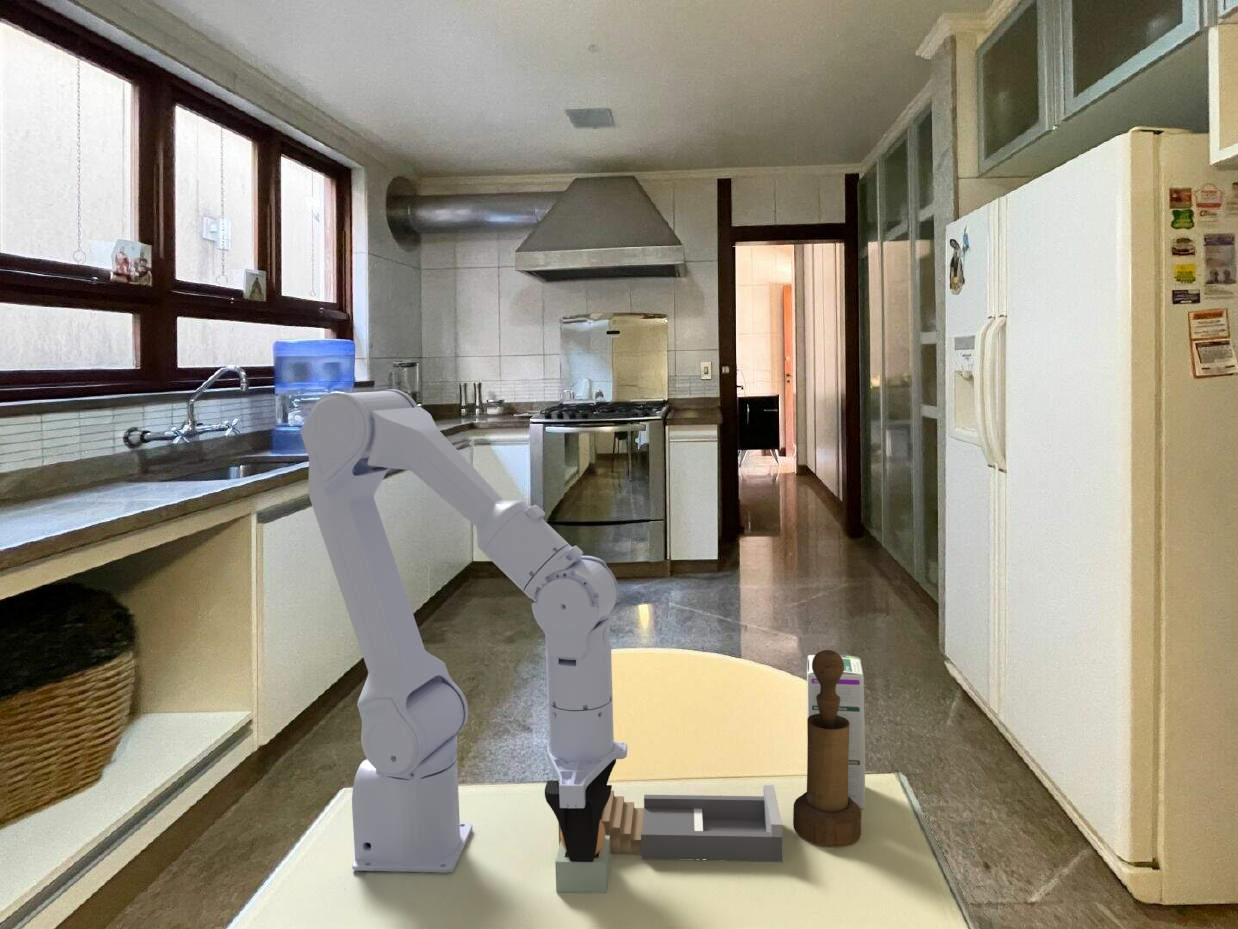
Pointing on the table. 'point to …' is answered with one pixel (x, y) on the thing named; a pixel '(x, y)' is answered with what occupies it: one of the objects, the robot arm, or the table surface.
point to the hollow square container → (583, 871)
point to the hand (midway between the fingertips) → (584, 845)
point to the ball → (599, 842)
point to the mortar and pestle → (827, 766)
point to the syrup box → (853, 711)
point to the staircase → (621, 825)
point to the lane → (712, 827)
